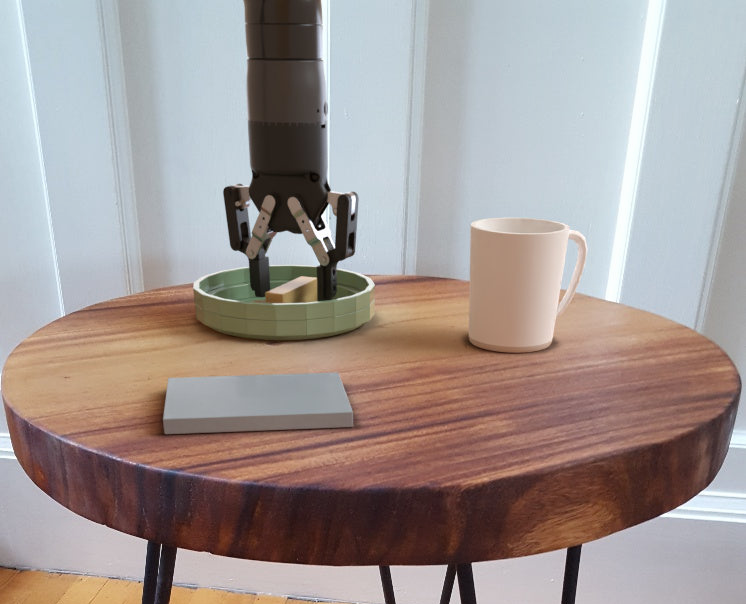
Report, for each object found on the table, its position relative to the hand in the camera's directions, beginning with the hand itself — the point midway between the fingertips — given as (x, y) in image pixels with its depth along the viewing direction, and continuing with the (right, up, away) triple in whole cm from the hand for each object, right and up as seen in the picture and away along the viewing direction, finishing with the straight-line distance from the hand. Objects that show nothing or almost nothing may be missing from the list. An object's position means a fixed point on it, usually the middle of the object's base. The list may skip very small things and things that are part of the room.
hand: (293, 298), depth 99 cm
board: (-1, -18, -24) cm, 30 cm away
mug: (+23, -7, -7) cm, 25 cm away
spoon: (-1, -2, -1) cm, 2 cm away
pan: (-1, -2, -1) cm, 3 cm away
